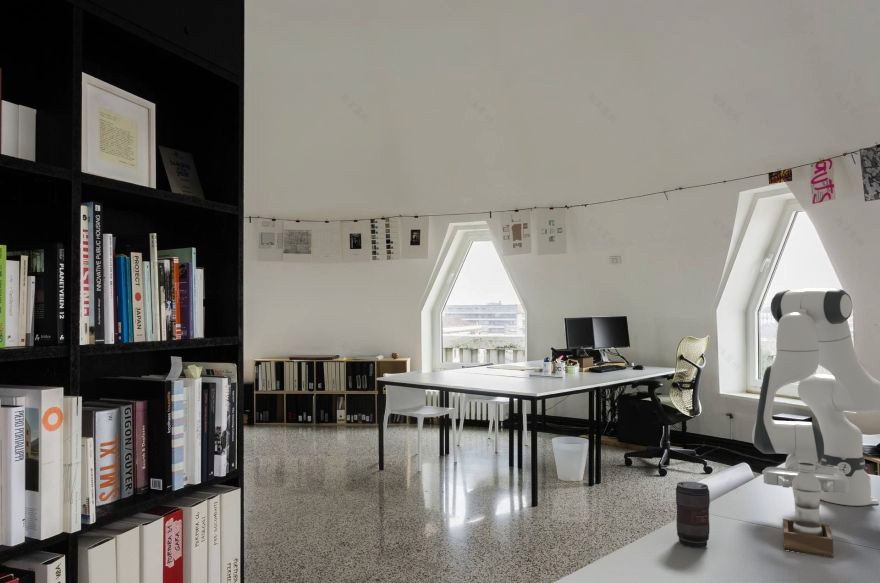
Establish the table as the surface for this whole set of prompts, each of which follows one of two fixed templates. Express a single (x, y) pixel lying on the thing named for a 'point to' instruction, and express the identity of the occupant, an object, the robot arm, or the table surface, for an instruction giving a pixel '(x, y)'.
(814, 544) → the open wooden box
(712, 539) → the table surface
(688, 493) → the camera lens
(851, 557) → the table surface
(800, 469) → the plastic bottle
